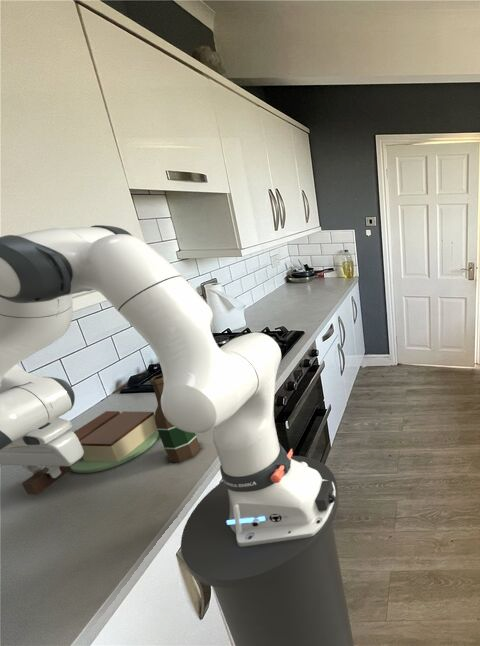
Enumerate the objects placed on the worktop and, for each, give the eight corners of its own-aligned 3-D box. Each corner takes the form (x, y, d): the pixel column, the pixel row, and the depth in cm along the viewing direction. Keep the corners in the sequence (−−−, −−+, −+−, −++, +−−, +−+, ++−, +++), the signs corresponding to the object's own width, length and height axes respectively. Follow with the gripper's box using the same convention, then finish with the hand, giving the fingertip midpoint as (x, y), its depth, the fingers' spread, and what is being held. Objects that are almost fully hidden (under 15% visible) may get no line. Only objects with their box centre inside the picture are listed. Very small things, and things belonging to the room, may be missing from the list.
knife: (120, 433, 102) (116, 423, 101) (37, 494, 81) (30, 483, 80) (112, 433, 102) (108, 423, 101) (27, 494, 82) (21, 483, 80)
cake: (175, 424, 108) (169, 405, 105) (118, 474, 89) (108, 452, 87) (115, 423, 109) (107, 405, 107) (46, 472, 91) (34, 450, 88)
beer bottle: (204, 440, 101) (180, 367, 92) (196, 459, 94) (170, 381, 85) (173, 447, 98) (146, 372, 90) (163, 466, 92) (132, 387, 83)
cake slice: (126, 427, 106) (119, 411, 104) (80, 461, 93) (71, 443, 90) (113, 427, 106) (106, 411, 104) (65, 461, 93) (56, 443, 91)
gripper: (-37, 438, 77) (-7, 485, 82) (48, 439, 76) (73, 487, 81) (-3, 420, 83) (23, 465, 88) (77, 421, 82) (99, 467, 87)
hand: (48, 475), depth 85 cm, fingers closed on knife, 2 cm apart
